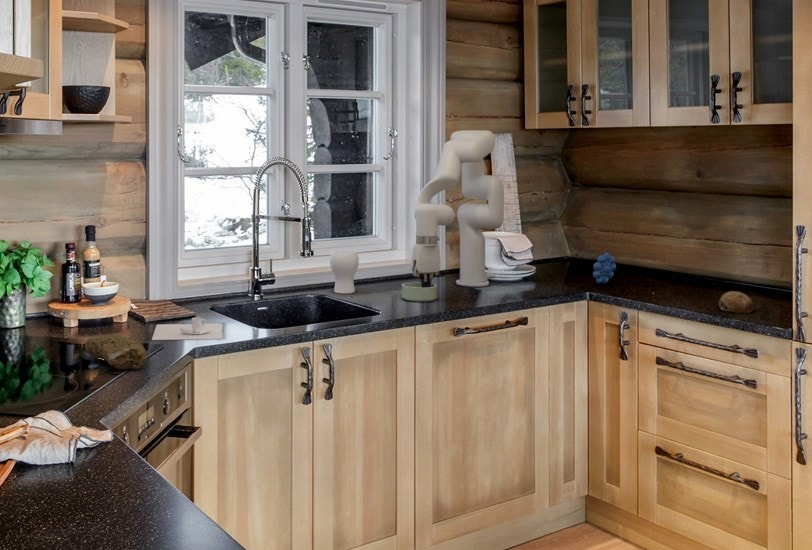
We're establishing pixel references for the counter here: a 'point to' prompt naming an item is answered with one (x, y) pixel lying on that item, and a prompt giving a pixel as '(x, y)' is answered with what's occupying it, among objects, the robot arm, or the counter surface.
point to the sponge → (116, 350)
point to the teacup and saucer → (188, 331)
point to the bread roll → (736, 302)
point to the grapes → (604, 268)
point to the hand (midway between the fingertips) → (426, 292)
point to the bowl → (418, 292)
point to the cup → (344, 269)
